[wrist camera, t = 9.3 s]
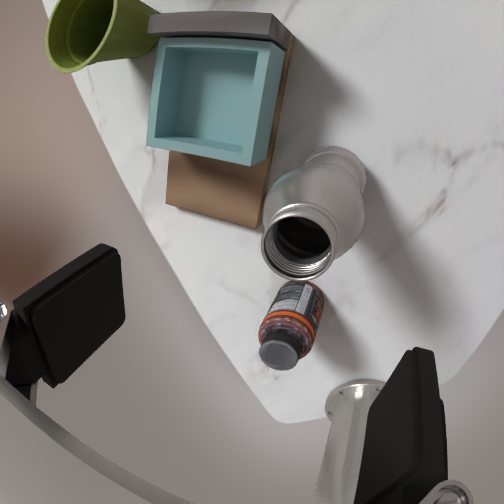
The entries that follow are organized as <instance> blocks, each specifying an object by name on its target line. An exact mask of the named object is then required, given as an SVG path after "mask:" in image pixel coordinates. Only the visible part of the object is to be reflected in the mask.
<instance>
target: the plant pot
mask: <svg viewBox="0 0 504 504" xmlns="http://www.w3.org/2000/svg"><path fill="white" fill-rule="evenodd" d="M153 14H158V13H157V11H155V10H154V9H153V8H151V7H150V6H148V5H146V4H145V3H143V2H141V1H140V0H58V2H57V4H56V6H55V7H54V9H53V11H52V14H51V16H50V19H49V23H48V27H47V33H46V51H47V56H48V58H49V61H50V62H51V64H52V66H53V67H54V68H55V69H57V70H58V71H60V72H62V73H72V72H75V71H78V70H80V69H82V68H83V67H85V66H87V65H91V64H94V63H96V62H102V61H109V60H117V59H125V58H134V57H140V56H143V55H145V54H146V53H148V52H149V51H150V50H151V48H152V47H153V46H154V45H155V44H156V43H157V42H158V40H159V37H160V36H157V35H152V34H148V33H147V29H148V23H149V18H150V15H153Z"/></svg>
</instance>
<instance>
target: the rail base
mask: <svg viewBox="0 0 504 504" xmlns="http://www.w3.org/2000/svg"><path fill="white" fill-rule="evenodd" d="M147 33H148V34H152V35H157V36H161V37H165V38H228V39H244V40H256V41H266V42H272V43H273V44H275V45H276V46H278V47H279V48H280V49H282V50H283V51H284V52H285V56H284V61H283V67H282V73H281V78H280V84H279V89H278V95H277V100H276V106H275V112H274V117H273V123H272V128H271V134H270V140H269V145H268V151H267V157H266V159H265V160H263V161H260V162H258V163H256V164H254V165H252V166H246V165H242V164H237V163H232V162H228V161H223V160H218V159H214V158H209V157H204V156H199V155H194V154H188V153H183V152H178V151H172V150H170V152H169V163H168V176H167V190H166V204H168V205H172V206H176V207H179V208H183V209H187V210H190V211H194V212H197V213H201V214H205V215H208V216H212V217H215V218H219V219H222V220H226V221H230V222H233V223H237V224H240V225H244V226H247V227H251V228H254V229H256V228H257V227H258V226H259V225H260V220H261V215H262V210H263V204H264V199H265V193H266V188H267V182H268V177H269V171H270V166H271V160H272V155H273V149H274V144H275V138H276V133H277V127H278V122H279V116H280V111H281V105H282V100H283V94H284V89H285V83H286V78H287V72H288V67H289V61H290V55H291V50H292V44H293V39H294V35H293V34H292V33H291V32H290V31H289V30H288V29H287V28H286V27H285V26H284V25H283V24H282V23H281V22H280V21H279V20H278V19H277V18H276V17H275V16H274V15H273V14H272V13H258V12H236V11H199V12H178V13H164V14H153V15H150V18H149V23H148V29H147Z"/></svg>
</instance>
